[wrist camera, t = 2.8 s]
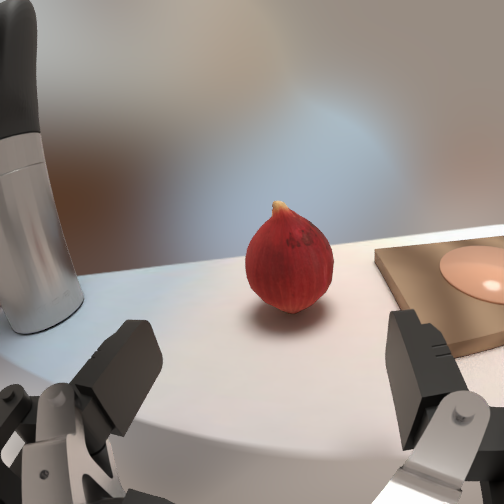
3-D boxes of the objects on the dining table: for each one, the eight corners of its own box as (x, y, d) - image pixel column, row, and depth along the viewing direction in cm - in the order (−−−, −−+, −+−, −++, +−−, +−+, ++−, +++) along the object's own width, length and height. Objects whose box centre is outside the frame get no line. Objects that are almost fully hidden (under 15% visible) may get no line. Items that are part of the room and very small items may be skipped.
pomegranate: (336, 290, 24) (330, 188, 21) (332, 336, 19) (326, 211, 16) (264, 291, 26) (249, 194, 23) (244, 334, 20) (221, 217, 18)
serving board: (427, 364, 14) (431, 344, 14) (374, 261, 27) (374, 247, 27) (598, 308, 12) (603, 293, 11) (518, 244, 24) (520, 232, 24)
